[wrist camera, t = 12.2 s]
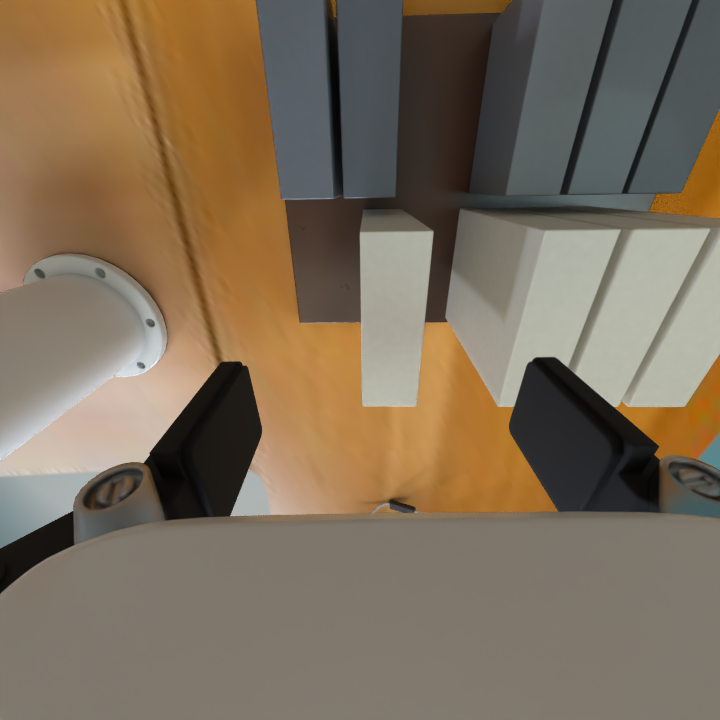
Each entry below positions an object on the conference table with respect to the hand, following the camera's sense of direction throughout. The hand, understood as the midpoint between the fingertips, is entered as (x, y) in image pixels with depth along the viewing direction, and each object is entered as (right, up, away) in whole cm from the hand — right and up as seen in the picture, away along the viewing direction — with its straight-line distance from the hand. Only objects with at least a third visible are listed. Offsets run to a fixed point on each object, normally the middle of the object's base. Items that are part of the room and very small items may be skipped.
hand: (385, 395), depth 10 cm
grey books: (+6, +18, +10) cm, 21 cm away
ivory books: (+12, +9, +15) cm, 21 cm away
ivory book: (+1, +9, +15) cm, 18 cm away
